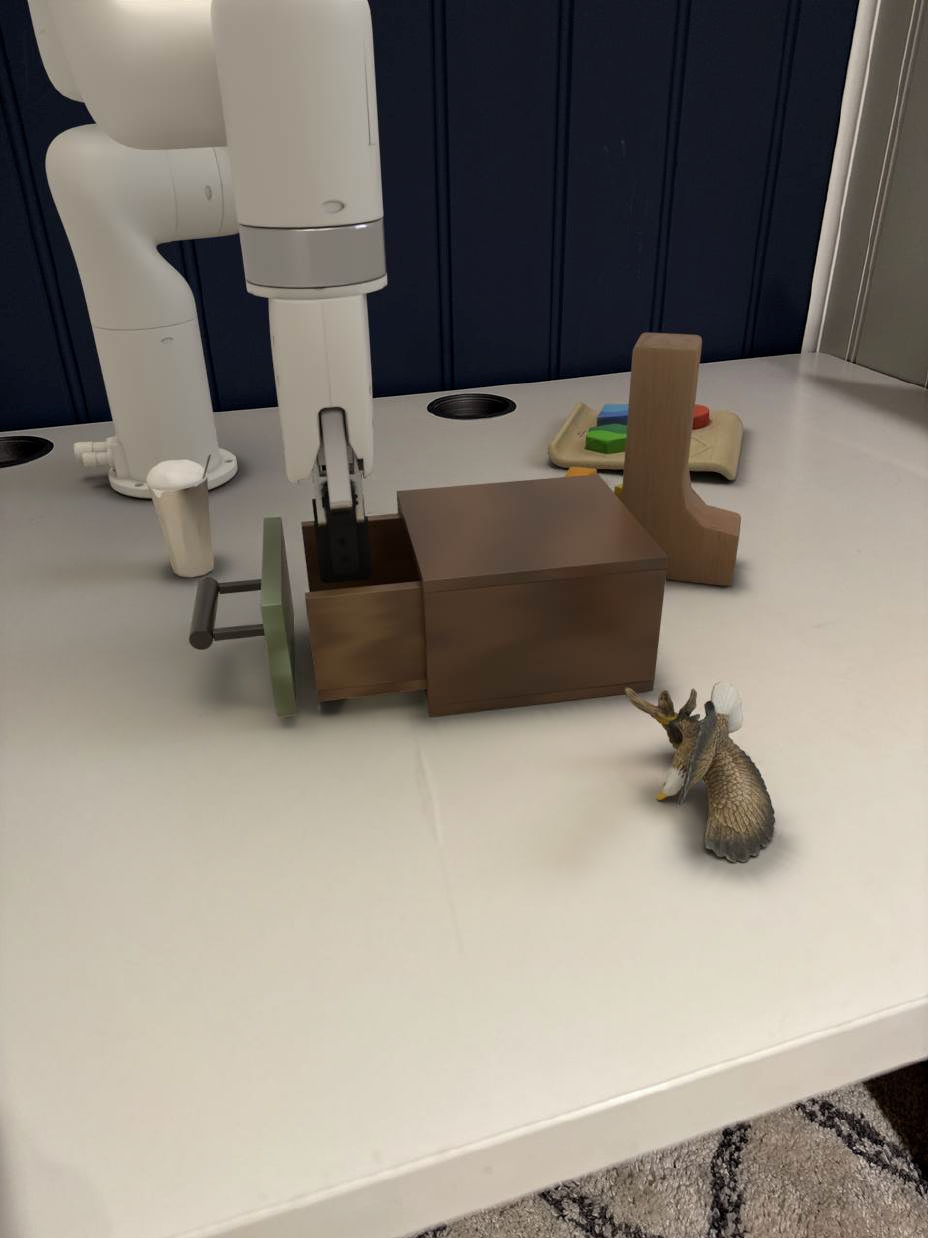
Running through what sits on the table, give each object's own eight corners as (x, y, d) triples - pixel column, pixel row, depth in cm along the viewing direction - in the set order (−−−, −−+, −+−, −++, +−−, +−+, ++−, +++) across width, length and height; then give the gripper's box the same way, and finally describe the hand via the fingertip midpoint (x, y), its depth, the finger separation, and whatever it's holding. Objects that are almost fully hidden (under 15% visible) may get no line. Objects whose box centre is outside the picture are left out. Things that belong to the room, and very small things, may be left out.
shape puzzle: (578, 416, 106) (579, 387, 105) (743, 429, 101) (747, 399, 100) (525, 496, 86) (525, 462, 84) (729, 518, 80) (734, 482, 79)
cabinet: (429, 717, 56) (423, 580, 51) (403, 610, 67) (396, 490, 62) (653, 690, 58) (668, 556, 53) (591, 591, 69) (598, 473, 64)
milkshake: (217, 584, 71) (196, 465, 66) (155, 579, 72) (129, 461, 67) (240, 559, 75) (222, 444, 70) (181, 554, 76) (159, 441, 71)
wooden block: (734, 562, 73) (768, 336, 64) (731, 588, 69) (767, 352, 60) (623, 550, 75) (640, 330, 66) (615, 574, 72) (632, 345, 62)
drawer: (197, 727, 54) (174, 614, 50) (211, 623, 64) (192, 523, 60) (495, 692, 56) (495, 582, 52) (461, 598, 67) (459, 500, 63)
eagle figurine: (586, 746, 51) (647, 833, 43) (653, 640, 50) (729, 708, 41) (689, 793, 53) (766, 884, 45) (755, 694, 52) (847, 768, 44)
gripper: (247, 240, 54) (284, 521, 63) (236, 288, 40) (285, 638, 49) (372, 235, 55) (390, 512, 64) (403, 280, 41) (420, 624, 51)
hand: (344, 564), depth 57 cm, fingers closed on glue stick, 2 cm apart
